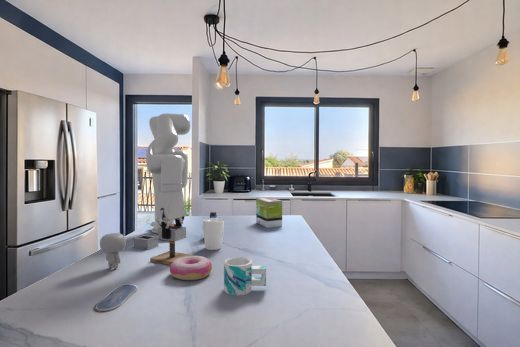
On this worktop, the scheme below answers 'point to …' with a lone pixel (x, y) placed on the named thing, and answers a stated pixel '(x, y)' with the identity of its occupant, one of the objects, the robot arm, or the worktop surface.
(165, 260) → the keeper
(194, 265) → the donut
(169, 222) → the robot arm
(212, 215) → the perfume bottle
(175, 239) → the link
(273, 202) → the tea box
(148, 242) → the grey hollow block
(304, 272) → the worktop surface
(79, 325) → the worktop surface
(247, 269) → the mug
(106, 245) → the figurine
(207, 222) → the cup
